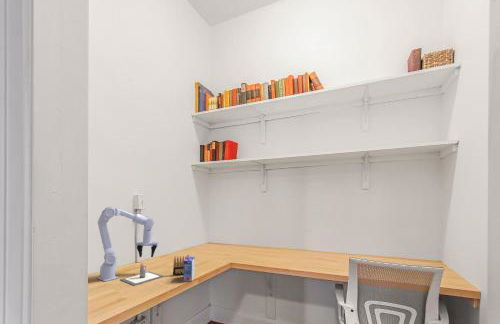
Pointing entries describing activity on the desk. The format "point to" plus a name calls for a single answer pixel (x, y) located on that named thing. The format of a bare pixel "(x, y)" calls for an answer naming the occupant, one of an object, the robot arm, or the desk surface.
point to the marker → (142, 270)
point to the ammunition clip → (178, 266)
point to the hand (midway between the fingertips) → (146, 256)
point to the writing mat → (137, 280)
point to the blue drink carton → (189, 268)
